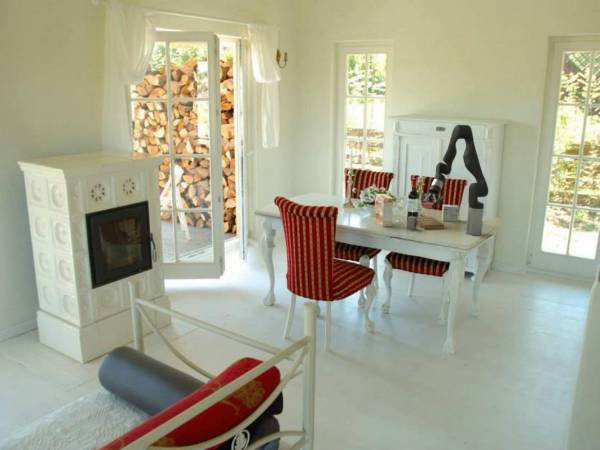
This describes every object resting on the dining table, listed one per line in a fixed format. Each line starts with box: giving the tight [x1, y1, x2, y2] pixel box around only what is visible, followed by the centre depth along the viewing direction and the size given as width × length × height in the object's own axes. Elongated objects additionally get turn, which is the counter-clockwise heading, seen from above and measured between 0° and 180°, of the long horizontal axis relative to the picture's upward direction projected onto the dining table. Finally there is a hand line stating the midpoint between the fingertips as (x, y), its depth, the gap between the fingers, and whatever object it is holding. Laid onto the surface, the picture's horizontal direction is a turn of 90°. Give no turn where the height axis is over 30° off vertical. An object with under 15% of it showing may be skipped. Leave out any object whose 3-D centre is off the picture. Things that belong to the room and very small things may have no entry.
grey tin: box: [406, 215, 418, 231], centre depth 375 cm, size 5×5×8 cm
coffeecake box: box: [373, 193, 394, 228], centre depth 386 cm, size 15×7×20 cm, turn 14°
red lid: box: [422, 201, 434, 210], centre depth 384 cm, size 6×6×3 cm
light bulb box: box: [441, 204, 460, 223], centre depth 401 cm, size 11×7×11 cm, turn 84°
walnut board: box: [416, 216, 445, 230], centre depth 387 cm, size 22×14×3 cm, turn 10°
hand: (427, 207), depth 383 cm, fingers closed on red lid, 6 cm apart
